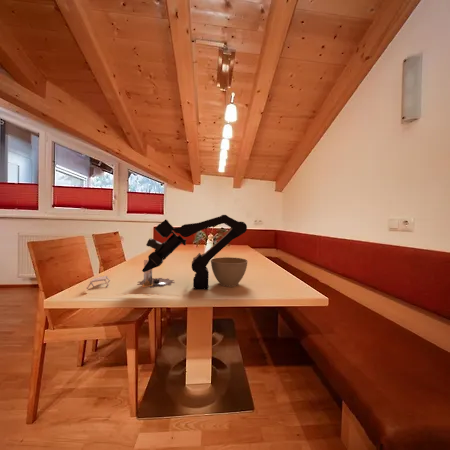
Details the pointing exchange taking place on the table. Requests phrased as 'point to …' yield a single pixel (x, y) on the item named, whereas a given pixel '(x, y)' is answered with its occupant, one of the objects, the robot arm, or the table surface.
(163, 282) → the sprocket plate
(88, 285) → the origami figure
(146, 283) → the drive pin
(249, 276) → the table surface
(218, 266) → the flower pot
